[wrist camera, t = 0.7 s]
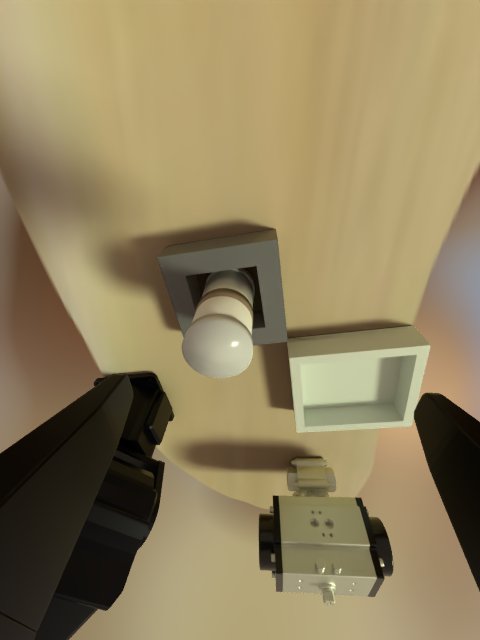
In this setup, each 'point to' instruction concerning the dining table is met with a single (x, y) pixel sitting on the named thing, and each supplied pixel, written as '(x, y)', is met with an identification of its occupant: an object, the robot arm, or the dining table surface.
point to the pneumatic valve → (322, 538)
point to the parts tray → (357, 378)
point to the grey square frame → (226, 255)
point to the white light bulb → (222, 325)
